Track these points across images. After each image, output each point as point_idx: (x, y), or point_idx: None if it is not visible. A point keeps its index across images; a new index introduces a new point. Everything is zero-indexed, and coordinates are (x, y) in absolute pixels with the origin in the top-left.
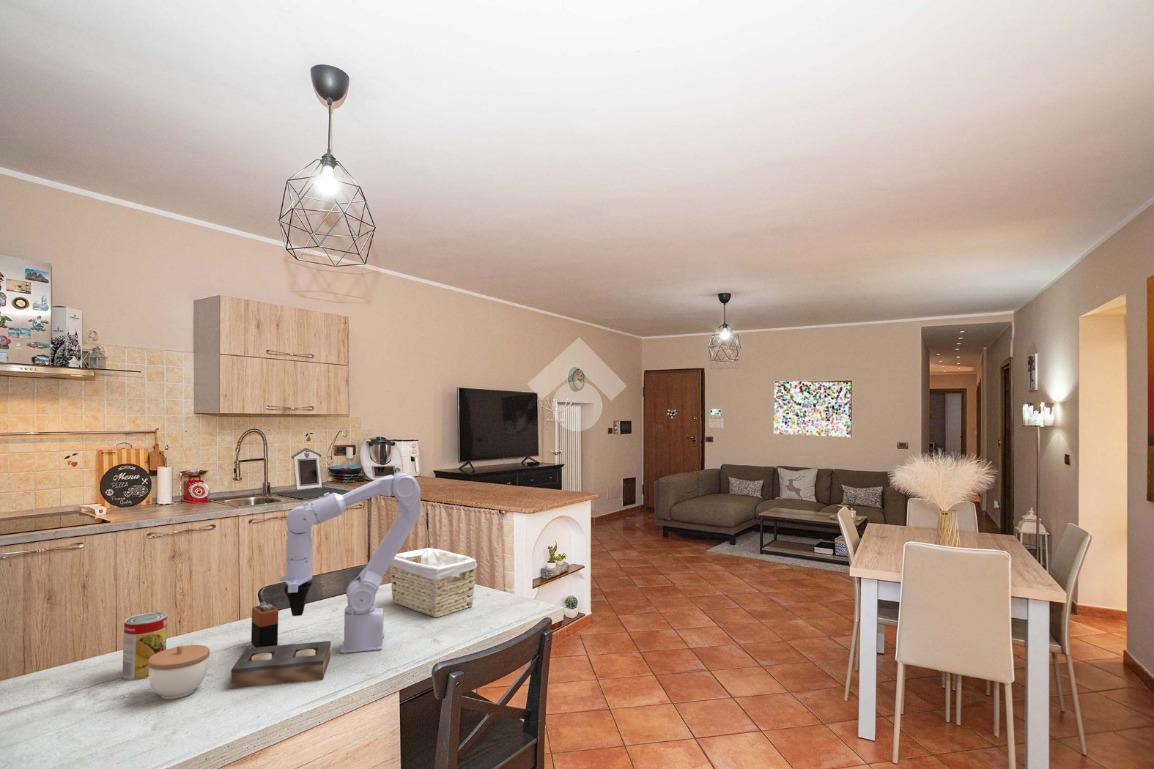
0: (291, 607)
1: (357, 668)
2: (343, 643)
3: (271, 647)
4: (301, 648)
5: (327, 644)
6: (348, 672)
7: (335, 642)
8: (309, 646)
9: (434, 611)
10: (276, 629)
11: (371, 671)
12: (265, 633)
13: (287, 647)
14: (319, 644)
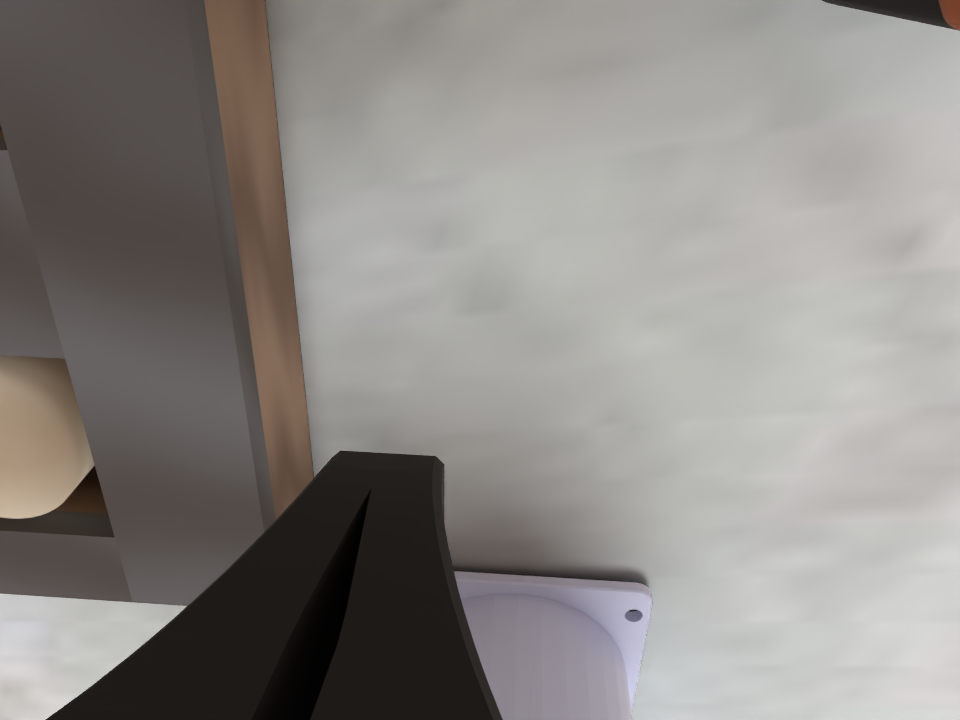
0: (243, 562)
1: (109, 645)
2: (564, 590)
3: (139, 67)
4: (89, 404)
5: (186, 593)
6: (45, 605)
7: (678, 524)
8: (142, 467)
9: None
10: (897, 3)
11: (59, 701)
12: None
13: (126, 265)
14: (193, 538)
